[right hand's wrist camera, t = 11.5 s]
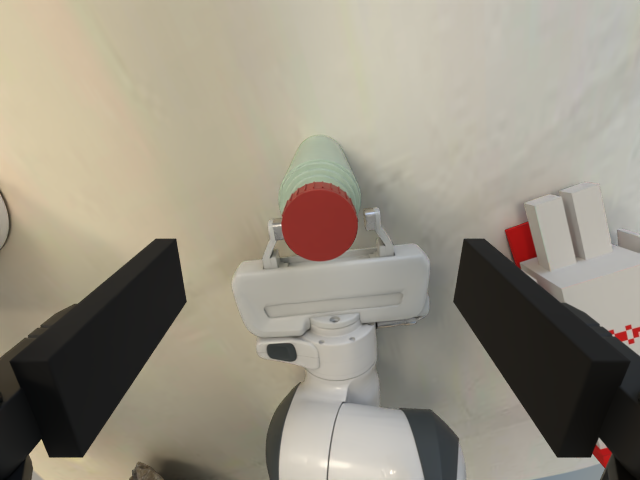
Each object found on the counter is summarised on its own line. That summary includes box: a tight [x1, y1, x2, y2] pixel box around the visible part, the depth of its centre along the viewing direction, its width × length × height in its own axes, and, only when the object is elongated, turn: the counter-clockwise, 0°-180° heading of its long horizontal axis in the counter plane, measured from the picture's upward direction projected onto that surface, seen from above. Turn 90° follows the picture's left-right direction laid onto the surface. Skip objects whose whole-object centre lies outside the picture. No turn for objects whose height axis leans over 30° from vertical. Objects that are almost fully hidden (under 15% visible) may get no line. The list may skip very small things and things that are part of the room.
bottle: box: [278, 135, 361, 217], centre depth 28 cm, size 5×5×22 cm
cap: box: [281, 181, 358, 261], centre depth 19 cm, size 4×4×2 cm
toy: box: [505, 182, 640, 468], centre depth 40 cm, size 12×13×30 cm
